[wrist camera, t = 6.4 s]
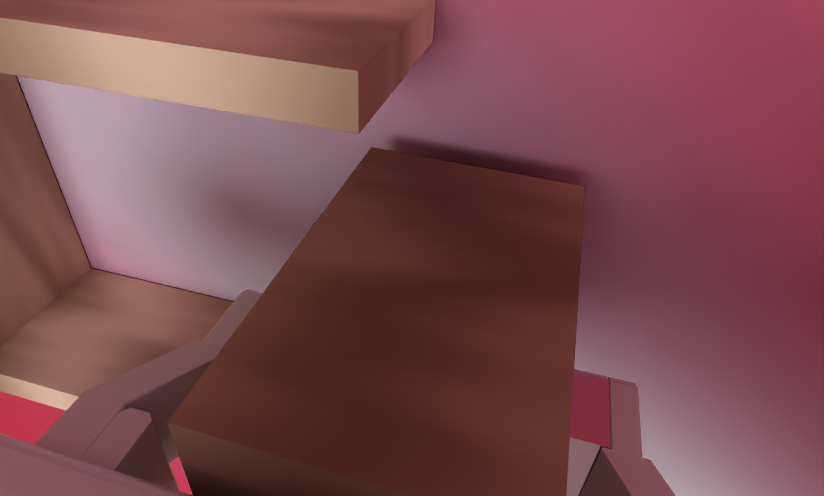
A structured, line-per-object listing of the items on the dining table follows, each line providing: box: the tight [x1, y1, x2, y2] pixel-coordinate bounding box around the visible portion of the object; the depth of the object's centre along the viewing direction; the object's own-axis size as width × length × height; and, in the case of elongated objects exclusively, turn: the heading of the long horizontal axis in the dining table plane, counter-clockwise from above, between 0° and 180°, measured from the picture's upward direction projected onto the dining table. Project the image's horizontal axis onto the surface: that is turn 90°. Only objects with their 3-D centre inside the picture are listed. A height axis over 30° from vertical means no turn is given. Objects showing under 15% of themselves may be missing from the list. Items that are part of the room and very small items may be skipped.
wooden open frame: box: [0, 0, 436, 410], centre depth 15 cm, size 14×12×5 cm
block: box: [167, 147, 585, 496], centre depth 11 cm, size 5×5×8 cm
